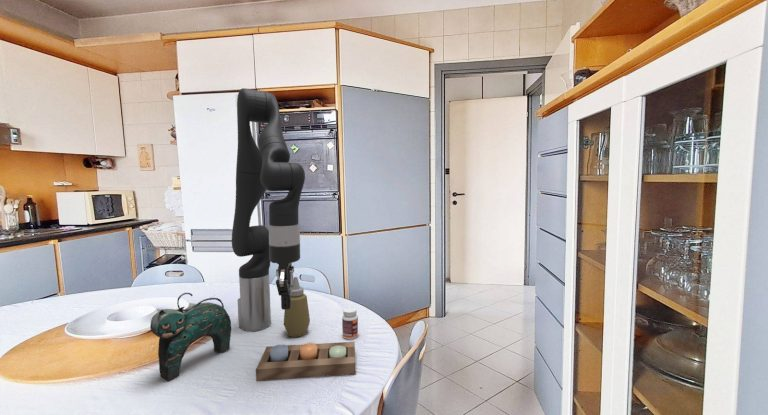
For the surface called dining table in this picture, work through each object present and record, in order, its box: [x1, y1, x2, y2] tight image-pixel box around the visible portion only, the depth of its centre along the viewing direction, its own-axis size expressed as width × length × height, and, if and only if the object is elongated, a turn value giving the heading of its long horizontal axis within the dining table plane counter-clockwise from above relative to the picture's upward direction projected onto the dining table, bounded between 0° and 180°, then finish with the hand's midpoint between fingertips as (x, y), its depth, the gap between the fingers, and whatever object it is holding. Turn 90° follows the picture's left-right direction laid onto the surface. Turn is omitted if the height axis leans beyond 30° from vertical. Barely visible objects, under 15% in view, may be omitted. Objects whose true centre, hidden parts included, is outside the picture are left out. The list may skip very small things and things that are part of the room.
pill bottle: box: [341, 307, 359, 340], centre depth 105 cm, size 5×5×8 cm
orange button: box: [300, 342, 318, 360], centre depth 89 cm, size 4×4×3 cm
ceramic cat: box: [150, 292, 232, 382], centre depth 90 cm, size 20×6×20 cm, turn 151°
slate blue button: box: [270, 344, 288, 362], centre depth 88 cm, size 4×4×3 cm
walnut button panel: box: [255, 341, 357, 382], centre depth 89 cm, size 24×11×3 cm, turn 96°
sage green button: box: [329, 345, 346, 358], centre depth 90 cm, size 4×4×3 cm
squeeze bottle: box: [283, 276, 311, 338], centre depth 107 cm, size 8×8×18 cm
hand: (286, 308), depth 88 cm, fingers closed
